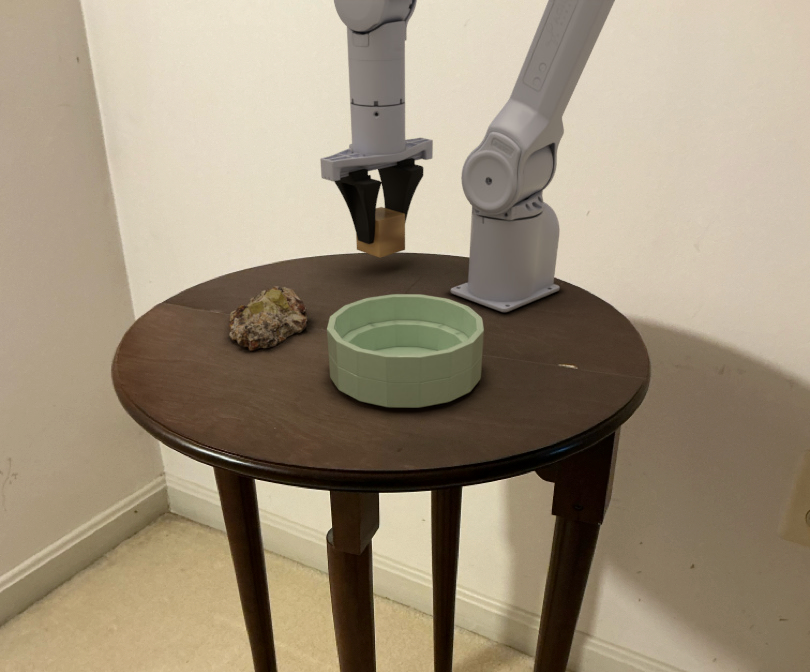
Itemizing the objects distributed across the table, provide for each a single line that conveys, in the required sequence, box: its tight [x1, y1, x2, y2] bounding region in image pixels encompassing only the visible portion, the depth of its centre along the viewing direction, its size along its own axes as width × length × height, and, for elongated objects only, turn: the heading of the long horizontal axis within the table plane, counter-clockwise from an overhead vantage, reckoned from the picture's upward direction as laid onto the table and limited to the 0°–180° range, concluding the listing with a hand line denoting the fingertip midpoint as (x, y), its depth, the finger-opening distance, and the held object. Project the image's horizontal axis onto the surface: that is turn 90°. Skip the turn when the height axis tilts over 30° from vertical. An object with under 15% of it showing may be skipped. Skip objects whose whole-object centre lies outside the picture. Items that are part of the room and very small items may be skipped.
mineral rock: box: [228, 285, 308, 352], centre depth 76 cm, size 11×4×8 cm
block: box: [355, 206, 406, 259], centre depth 87 cm, size 4×4×4 cm
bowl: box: [326, 293, 485, 409], centre depth 67 cm, size 13×13×5 cm
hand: (380, 237), depth 88 cm, fingers closed on block, 4 cm apart
